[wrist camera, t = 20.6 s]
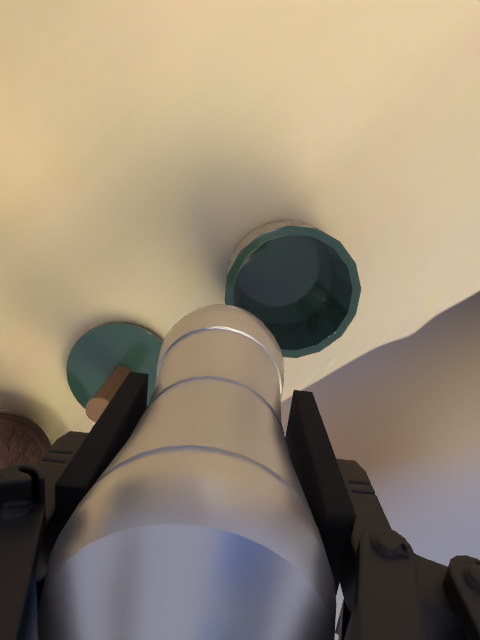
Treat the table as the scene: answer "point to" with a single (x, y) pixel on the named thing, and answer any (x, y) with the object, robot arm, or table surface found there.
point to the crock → (295, 285)
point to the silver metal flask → (197, 508)
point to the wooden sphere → (21, 440)
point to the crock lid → (110, 363)
